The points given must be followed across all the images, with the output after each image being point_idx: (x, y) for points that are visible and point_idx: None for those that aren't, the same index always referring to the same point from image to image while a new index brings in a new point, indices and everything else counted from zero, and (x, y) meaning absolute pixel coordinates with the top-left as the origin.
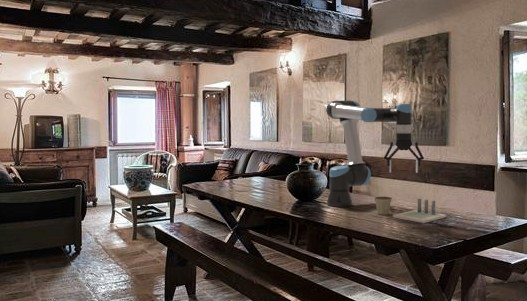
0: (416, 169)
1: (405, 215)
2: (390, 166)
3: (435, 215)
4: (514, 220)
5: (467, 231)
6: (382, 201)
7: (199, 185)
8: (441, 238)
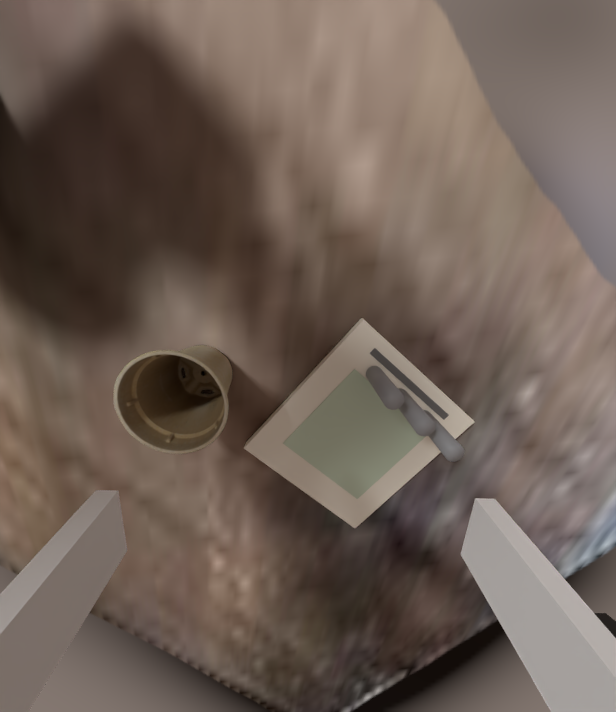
0: (491, 604)
1: (297, 453)
2: (45, 662)
3: (424, 440)
4: None
5: (454, 603)
6: (175, 441)
7: None
8: (356, 668)
